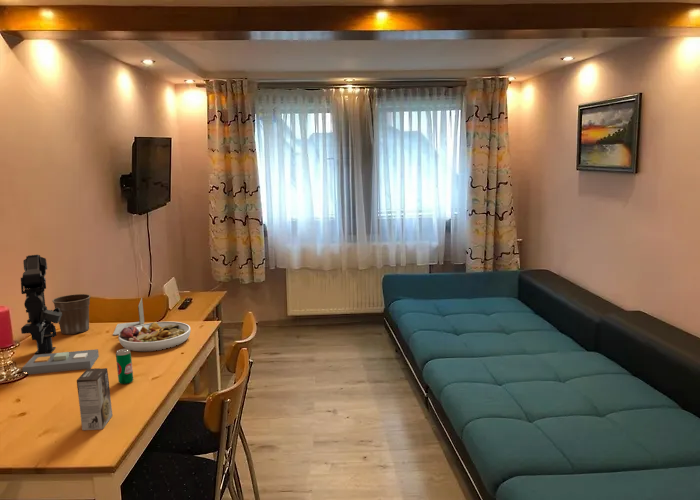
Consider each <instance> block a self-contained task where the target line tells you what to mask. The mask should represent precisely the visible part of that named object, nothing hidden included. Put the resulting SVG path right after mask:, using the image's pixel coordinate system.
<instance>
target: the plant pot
mask: <svg viewBox="0 0 700 500" xmlns="http://www.w3.org/2000/svg"><path fill="white" fill-rule="evenodd" d="M90 299H91V295H90V294H87V293H79V294H69V295H68V294H67V295H62V296H57V297H55V298H53V299H52V303H53V305H54V309H55V308H60V311H61V312H62V316H61V319H60V321H59V322H58V325H59V329H60V333H61V334H62V335H75V334H78V333H84V332H87V331H88V330H89V329H90V304H91V303H90V302H91V301H90Z"/></svg>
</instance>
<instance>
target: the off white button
mask: <svg viewBox="0 0 700 500" xmlns="http://www.w3.org/2000/svg"><path fill="white" fill-rule="evenodd" d="M87 356H88V353H80V354H76V355H75V356H74V357H73V359H79V358H86V357H87Z"/></svg>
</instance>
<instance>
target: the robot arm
mask: <svg viewBox="0 0 700 500" xmlns="http://www.w3.org/2000/svg"><path fill="white" fill-rule="evenodd" d="M25 257H26V258H25V259H23V263H22V264H23V270H24V271H23V272H22V276H21V277H20V292H21V294H22V295H25V300H24V303H23V304H24V307H25V309H26V310H25V313H26V314H27V315H28V319H27V320H26V321H27V323H25V324H24V325H23V326H22V327H21V328H20V332H21V334H30V335H31V341H36V349H37V350H36V351H35V352H34V355H40V354H51V353H53V351H54V350H56V346H53V338H55V337H57V330H56V325H54V324H59V321H60V319H61V316H62V312H61V311H60V308H55V307H54V309H48V307H47V305H46V300H45V299H46V298H45V290H46V289H47V282H46V281H47V280H46V275H47V270H48V263H47V258H46V257H42V256H41V255H40V254H31V255H30V254H29V255H26V256H25Z"/></svg>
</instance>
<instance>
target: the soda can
mask: <svg viewBox="0 0 700 500" xmlns="http://www.w3.org/2000/svg"><path fill="white" fill-rule="evenodd" d="M115 360H116V369H117V370H116V371H117V380H118V383H119V384H121V385H129V384H131V383H133V381H134V371H133V362H132V351H131V350H129V349H126V348H121V349H117V350H116V353H115Z"/></svg>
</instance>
